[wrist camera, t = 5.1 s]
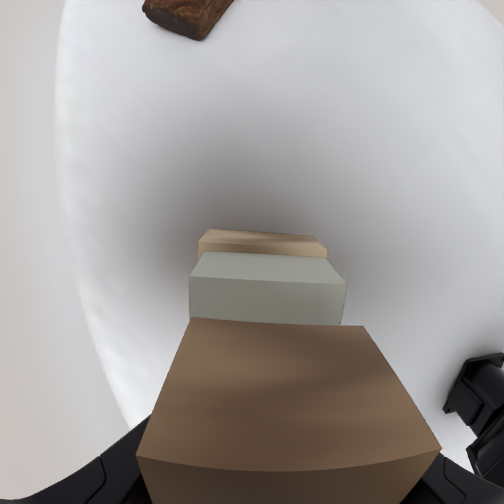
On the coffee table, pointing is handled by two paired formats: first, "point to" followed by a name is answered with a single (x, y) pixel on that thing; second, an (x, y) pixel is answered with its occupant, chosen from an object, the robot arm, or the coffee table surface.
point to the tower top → (266, 289)
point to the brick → (186, 15)
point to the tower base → (260, 243)
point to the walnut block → (282, 419)
